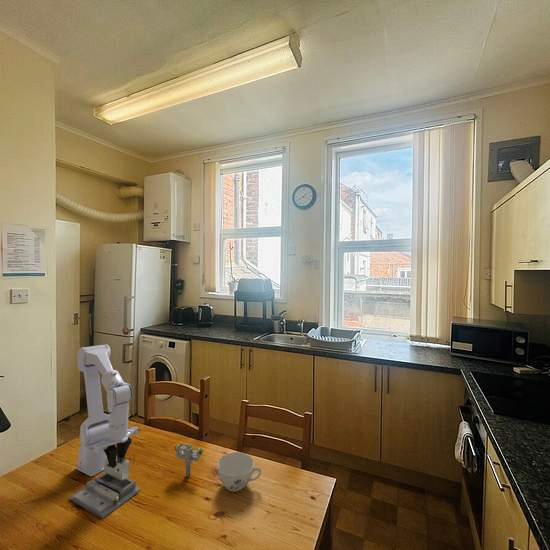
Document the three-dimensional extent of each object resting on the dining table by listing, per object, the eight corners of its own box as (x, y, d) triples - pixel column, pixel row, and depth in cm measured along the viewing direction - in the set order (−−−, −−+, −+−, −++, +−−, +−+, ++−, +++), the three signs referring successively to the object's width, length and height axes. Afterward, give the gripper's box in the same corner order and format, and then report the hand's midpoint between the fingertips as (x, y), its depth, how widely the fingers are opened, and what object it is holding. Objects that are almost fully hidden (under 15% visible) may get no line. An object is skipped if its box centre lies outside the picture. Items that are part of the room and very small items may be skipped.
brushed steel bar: (103, 471, 98) (104, 456, 98) (110, 467, 100) (111, 453, 100) (121, 480, 94) (122, 464, 94) (128, 476, 96) (129, 460, 96)
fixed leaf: (69, 499, 92) (69, 488, 92) (108, 475, 103) (108, 466, 104) (102, 519, 85) (102, 507, 85) (140, 491, 97) (140, 481, 97)
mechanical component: (198, 480, 103) (200, 451, 103) (172, 475, 105) (173, 447, 105) (202, 475, 106) (203, 446, 106) (176, 470, 108) (178, 442, 108)
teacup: (212, 498, 95) (213, 473, 95) (220, 473, 107) (221, 451, 107) (258, 501, 94) (259, 476, 94) (261, 475, 107) (262, 453, 107)
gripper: (105, 435, 89) (103, 481, 89) (145, 416, 102) (143, 456, 102) (90, 429, 92) (88, 473, 92) (131, 412, 105) (129, 450, 105)
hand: (116, 464), depth 97 cm, fingers closed on brushed steel bar, 2 cm apart
